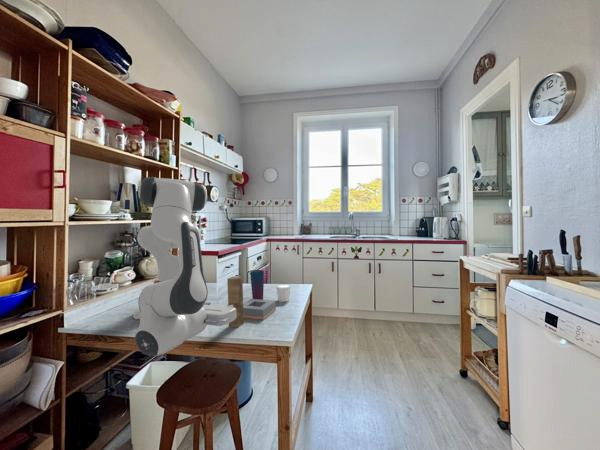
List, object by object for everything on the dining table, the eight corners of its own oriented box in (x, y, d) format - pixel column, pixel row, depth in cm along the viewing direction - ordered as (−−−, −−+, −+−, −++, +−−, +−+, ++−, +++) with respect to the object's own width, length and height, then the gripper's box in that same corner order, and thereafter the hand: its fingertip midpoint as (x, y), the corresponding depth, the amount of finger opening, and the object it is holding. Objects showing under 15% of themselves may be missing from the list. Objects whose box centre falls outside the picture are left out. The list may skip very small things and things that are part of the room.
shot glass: (276, 298, 134) (276, 284, 134) (290, 297, 135) (289, 284, 134) (276, 302, 127) (276, 288, 127) (290, 301, 128) (290, 287, 128)
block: (238, 327, 98) (236, 279, 98) (228, 326, 100) (227, 278, 99) (243, 323, 102) (242, 276, 102) (234, 322, 103) (233, 276, 103)
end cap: (263, 319, 105) (263, 309, 105) (237, 316, 109) (237, 307, 109) (275, 309, 117) (275, 300, 117) (251, 307, 121) (251, 298, 120)
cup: (262, 303, 126) (261, 272, 126) (248, 303, 128) (247, 272, 127) (266, 299, 133) (265, 269, 133) (254, 298, 134) (253, 269, 134)
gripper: (221, 312, 75) (246, 298, 88) (165, 306, 82) (196, 294, 95) (221, 334, 75) (246, 317, 89) (165, 327, 82) (196, 311, 95)
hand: (220, 305), depth 92 cm, fingers open, 8 cm apart
